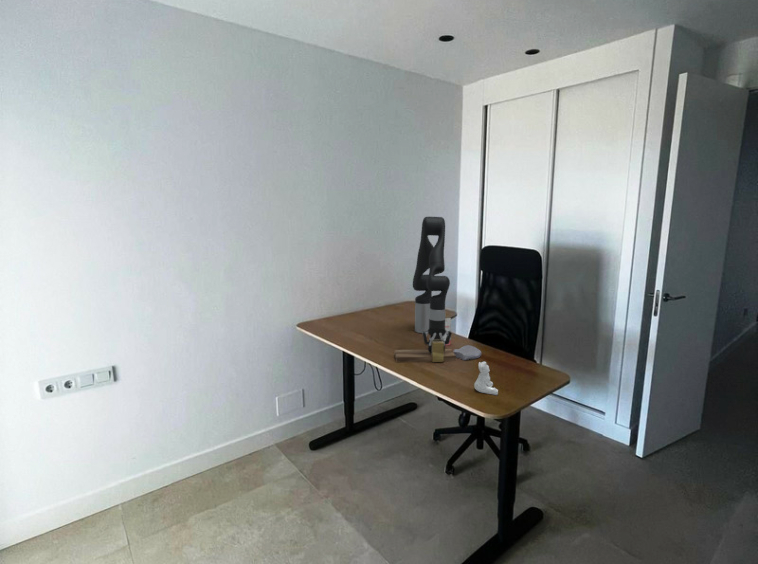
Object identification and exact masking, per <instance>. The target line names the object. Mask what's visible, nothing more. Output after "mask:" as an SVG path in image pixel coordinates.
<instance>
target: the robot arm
mask: <svg viewBox="0 0 758 564" xmlns="http://www.w3.org/2000/svg"><path fill="white" fill-rule="evenodd" d="M429 236H436V237H437V241H436V243H435V245H433V244H432V242H431V241H430V239H429ZM445 240H446V220H445V218H444V217H442V216H424V217H423V220H422V223H421V233H420V243H419V247H418V252H417V259H416V267H415V270H414V271H415V272H414V274H413V279H412V288H413V290H415V291H418V292H423V293H422V294H420V295H417V296H415V299H414V306H415V307H414V332H416V333H418V334H422V337H423V342H424V344H425V345H427V347H428V348H427V349H428V351H429V352H430V353H432V341H433V340H434V339H440V340H441V341H443V343H444V351H445V349H446V346H445V345H446V344H449V341H450V337H451V338H452V330H451V331H446V330H445V322H446V321H445V319H446V317H447V315H446V299H447V294H448V291H449V288H450V285H451V282H450V278H449V277H448V276H447V275H439V274H442V273H444V272H445V269H446V267H445V254H444V253H445V242H446V241H445ZM428 270H429V271H428ZM427 271H428V274H425V273H426V272H427ZM432 292H439V294H435V295H433V293H432ZM445 333H446V335H447V337H446V341H444V339H443V336H444V334H445ZM428 335H429V340H428V339H427V336H428Z"/></svg>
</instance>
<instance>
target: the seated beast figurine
mask: <svg viewBox="0 0 758 564" xmlns="http://www.w3.org/2000/svg"><path fill="white" fill-rule="evenodd" d="M478 371H479V373H478V376H477V379H476V380H475V382H474V383H473V385H474V386H473V387H474V389H475V390H476V391H477V392H479V393H482V394H488V395H493V396H498V395H499V389H497V388H496V387H493V386H494V383H493V381H491V376H490V371H491V370H490V366H489V365H488V363H487V362H486V361H482V362H480V361H479V362H478Z"/></svg>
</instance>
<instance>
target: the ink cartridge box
mask: <svg viewBox="0 0 758 564" xmlns="http://www.w3.org/2000/svg"><path fill="white" fill-rule="evenodd" d="M445 330H446V331H451V332H452V318H451V317H448V318H445ZM446 337H447V335H446V333H445V334H444V336H443V339H444V341H446ZM451 343H452V336H451V337H450V341H449V344H446V345H445V347H446V346H450V345H452V344H451Z"/></svg>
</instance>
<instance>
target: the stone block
mask: <svg viewBox="0 0 758 564" xmlns="http://www.w3.org/2000/svg"><path fill="white" fill-rule="evenodd" d="M453 352H454V354H455V355H456V359H459V358H460V360H461V359H462V361H470V360H475V359H479V358H480V357H481V356H482V351H481V350H480V349H479V348H477V347H476V346H473V345H469V344H467V345H464V346H462V347H460V348H458V349H457V348H455V349H453ZM469 359H470V360H469Z"/></svg>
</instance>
